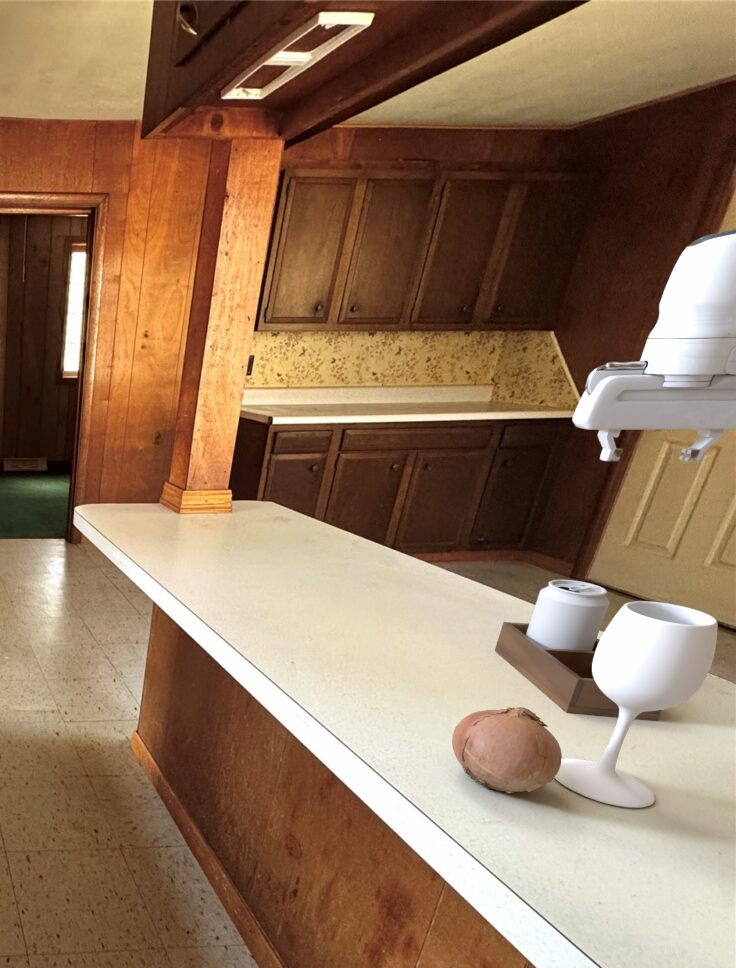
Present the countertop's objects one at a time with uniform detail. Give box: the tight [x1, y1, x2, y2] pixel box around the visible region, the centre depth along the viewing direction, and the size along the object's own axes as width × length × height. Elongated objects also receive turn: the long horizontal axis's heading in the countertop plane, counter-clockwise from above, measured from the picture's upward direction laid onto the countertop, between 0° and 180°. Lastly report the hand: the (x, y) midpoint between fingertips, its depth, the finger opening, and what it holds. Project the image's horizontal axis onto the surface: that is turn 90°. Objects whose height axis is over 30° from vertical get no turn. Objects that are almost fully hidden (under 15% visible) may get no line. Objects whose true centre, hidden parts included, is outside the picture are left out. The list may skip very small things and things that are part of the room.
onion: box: [451, 706, 563, 794], centre depth 74 cm, size 10×9×10 cm
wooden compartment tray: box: [494, 621, 663, 722], centre depth 94 cm, size 10×19×5 cm, turn 165°
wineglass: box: [553, 600, 719, 809], centre depth 71 cm, size 9×9×21 cm
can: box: [526, 579, 611, 651], centre depth 97 cm, size 8×8×12 cm
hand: (648, 460), depth 96 cm, fingers open, 8 cm apart
